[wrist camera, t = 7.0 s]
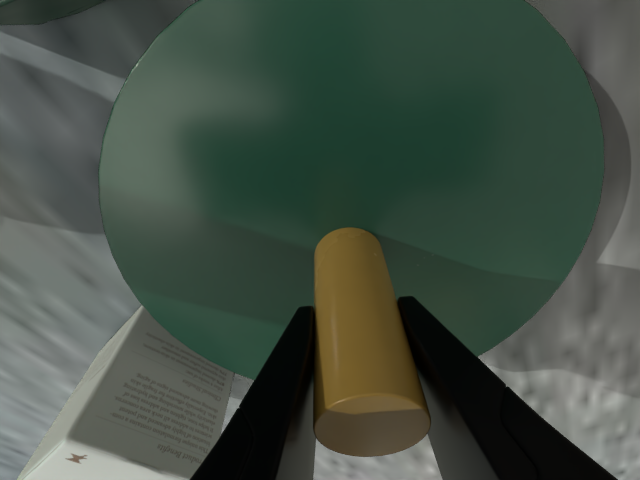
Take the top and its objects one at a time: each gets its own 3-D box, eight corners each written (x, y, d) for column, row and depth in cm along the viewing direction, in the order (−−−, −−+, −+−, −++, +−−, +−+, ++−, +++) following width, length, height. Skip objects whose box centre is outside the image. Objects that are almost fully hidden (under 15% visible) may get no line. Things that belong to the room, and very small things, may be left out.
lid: (203, 384, 18) (145, 569, 12) (5, 8, 9) (-680, -21, 3) (523, 356, 17) (638, 543, 11) (670, -98, 8) (1893, -513, 2)
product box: (99, 348, 20) (2, 493, 14) (150, 293, 18) (61, 439, 11) (188, 390, 22) (139, 530, 16) (244, 346, 20) (211, 491, 14)
